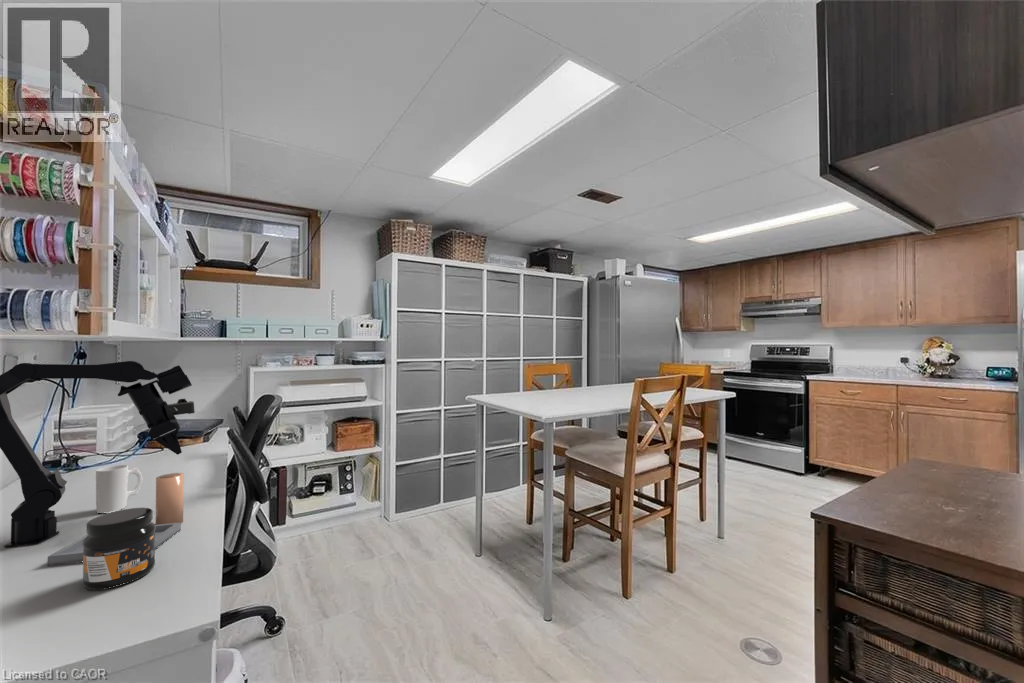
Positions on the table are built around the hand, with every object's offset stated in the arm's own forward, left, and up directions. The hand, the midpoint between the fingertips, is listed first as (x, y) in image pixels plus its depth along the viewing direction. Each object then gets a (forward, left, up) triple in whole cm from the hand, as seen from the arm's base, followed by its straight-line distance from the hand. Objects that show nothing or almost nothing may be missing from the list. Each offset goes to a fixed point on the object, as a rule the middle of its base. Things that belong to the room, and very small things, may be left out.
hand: (178, 450), depth 117 cm
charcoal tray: (-1, -22, -17) cm, 28 cm away
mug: (-18, +8, -17) cm, 26 cm away
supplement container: (+8, -38, -17) cm, 43 cm away
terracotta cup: (+3, -10, -17) cm, 20 cm away
